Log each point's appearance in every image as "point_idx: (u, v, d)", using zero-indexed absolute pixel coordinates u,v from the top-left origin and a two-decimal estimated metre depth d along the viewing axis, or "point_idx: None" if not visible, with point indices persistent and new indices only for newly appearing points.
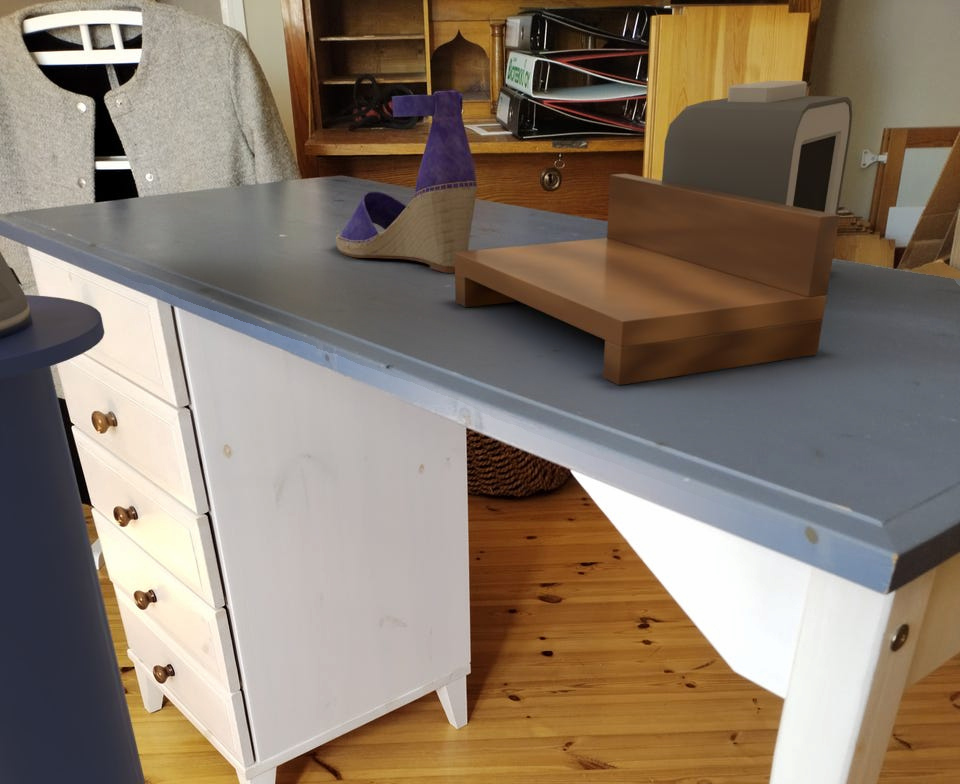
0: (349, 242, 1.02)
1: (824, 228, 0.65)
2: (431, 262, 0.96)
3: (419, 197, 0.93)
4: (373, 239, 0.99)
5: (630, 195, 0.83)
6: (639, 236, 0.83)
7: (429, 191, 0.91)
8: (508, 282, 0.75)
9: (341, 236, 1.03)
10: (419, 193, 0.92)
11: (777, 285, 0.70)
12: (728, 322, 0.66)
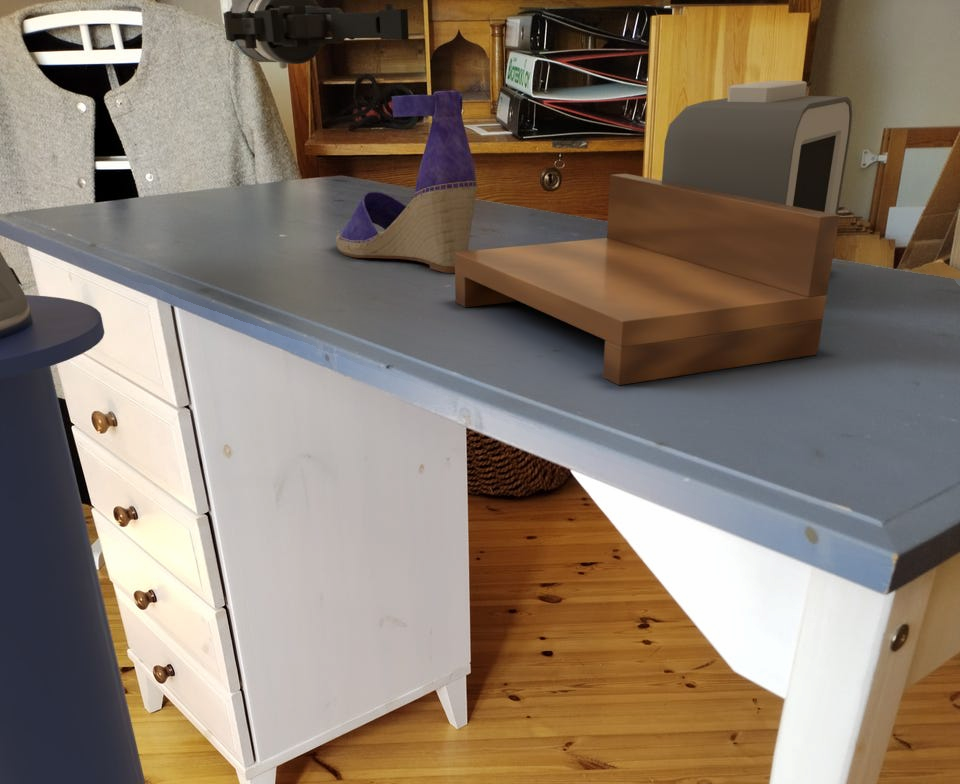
0: (349, 242, 1.02)
1: (824, 228, 0.65)
2: (431, 262, 0.96)
3: (419, 197, 0.93)
4: (373, 239, 0.99)
5: (630, 195, 0.83)
6: (639, 236, 0.83)
7: (429, 191, 0.91)
8: (508, 282, 0.75)
9: (341, 236, 1.03)
10: (419, 193, 0.92)
11: (777, 285, 0.70)
12: (728, 322, 0.66)
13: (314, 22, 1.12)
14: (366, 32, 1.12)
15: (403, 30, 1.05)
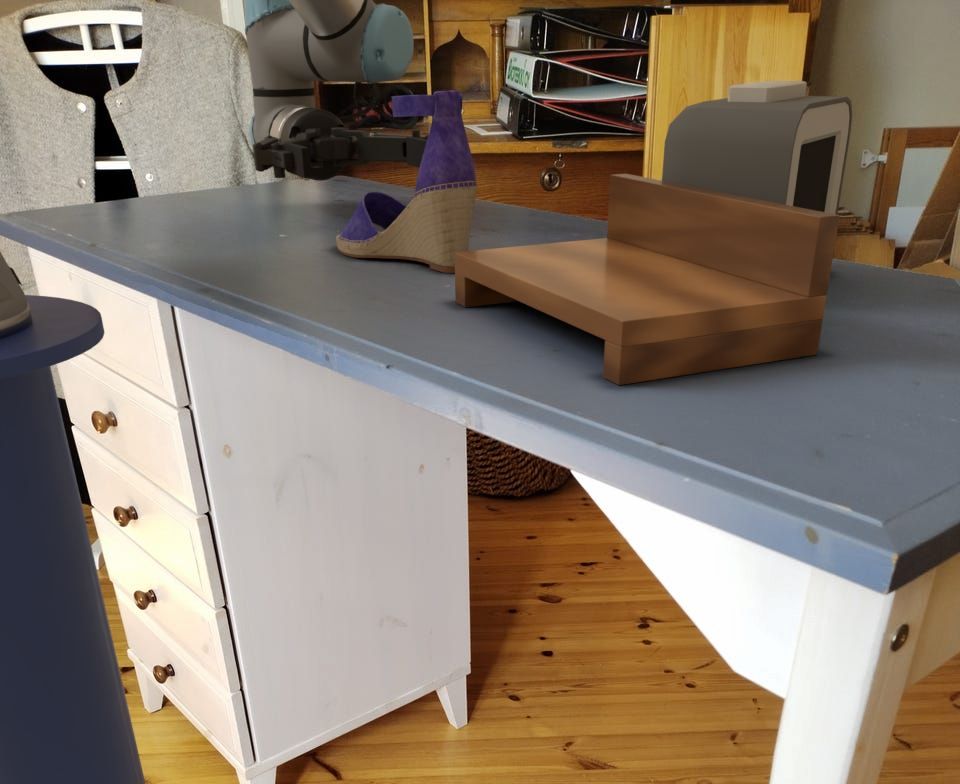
0: (349, 242, 1.02)
1: (824, 228, 0.65)
2: (431, 262, 0.96)
3: (419, 197, 0.93)
4: (373, 239, 0.99)
5: (630, 195, 0.83)
6: (639, 236, 0.83)
7: (429, 191, 0.91)
8: (508, 282, 0.75)
9: (341, 236, 1.03)
10: (419, 193, 0.92)
11: (777, 285, 0.70)
12: (728, 322, 0.66)
13: (340, 145, 1.13)
14: (392, 156, 1.12)
15: None
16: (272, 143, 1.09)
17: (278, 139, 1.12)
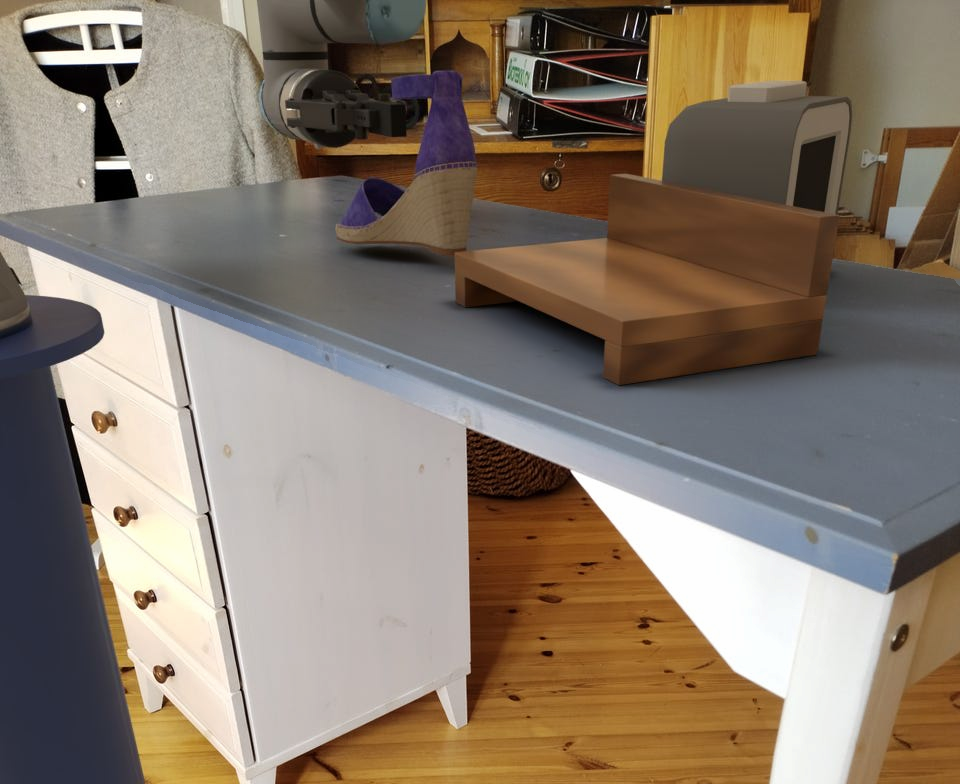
0: (349, 228, 1.01)
1: (824, 228, 0.65)
2: (431, 245, 0.95)
3: (419, 179, 0.92)
4: (372, 224, 0.98)
5: (630, 195, 0.83)
6: (639, 236, 0.83)
7: (429, 172, 0.90)
8: (508, 282, 0.75)
9: (340, 224, 1.03)
10: (418, 174, 0.91)
11: (777, 285, 0.70)
12: (728, 322, 0.66)
13: None
14: None
15: (400, 127, 0.95)
16: None
17: None
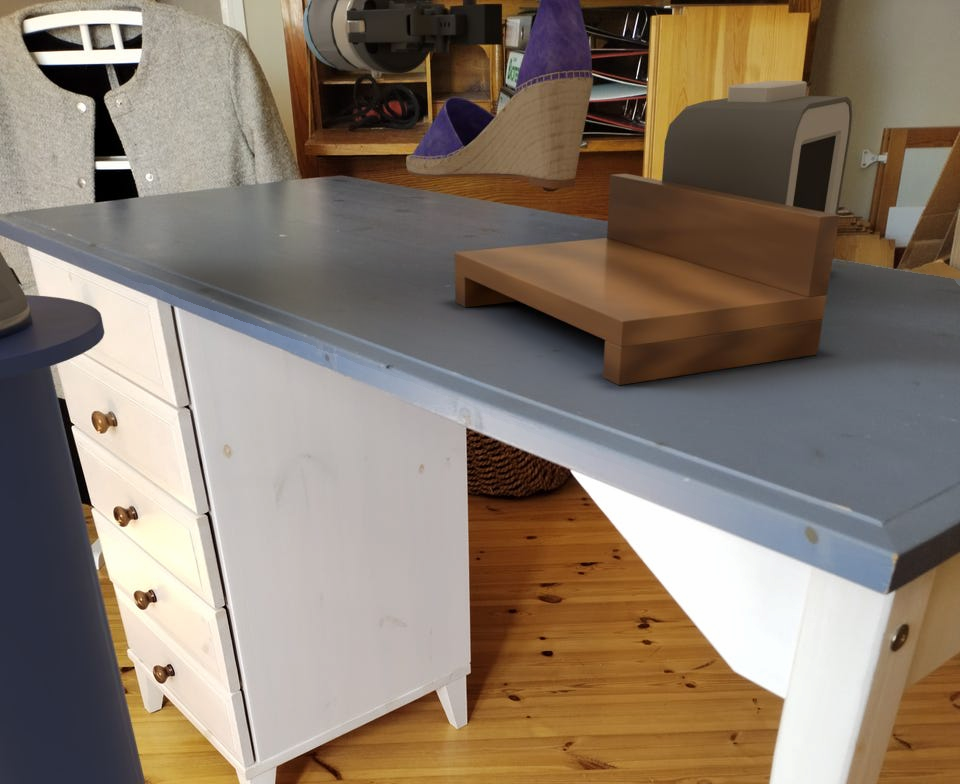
0: (426, 159, 0.84)
1: (824, 228, 0.65)
2: (531, 177, 0.79)
3: (522, 92, 0.75)
4: (457, 153, 0.82)
5: (630, 195, 0.83)
6: (639, 236, 0.83)
7: (536, 82, 0.74)
8: (508, 282, 0.75)
9: (414, 154, 0.86)
10: (522, 87, 0.75)
11: (777, 285, 0.70)
12: (728, 322, 0.66)
13: None
14: (450, 35, 0.86)
15: (495, 32, 0.79)
16: None
17: None
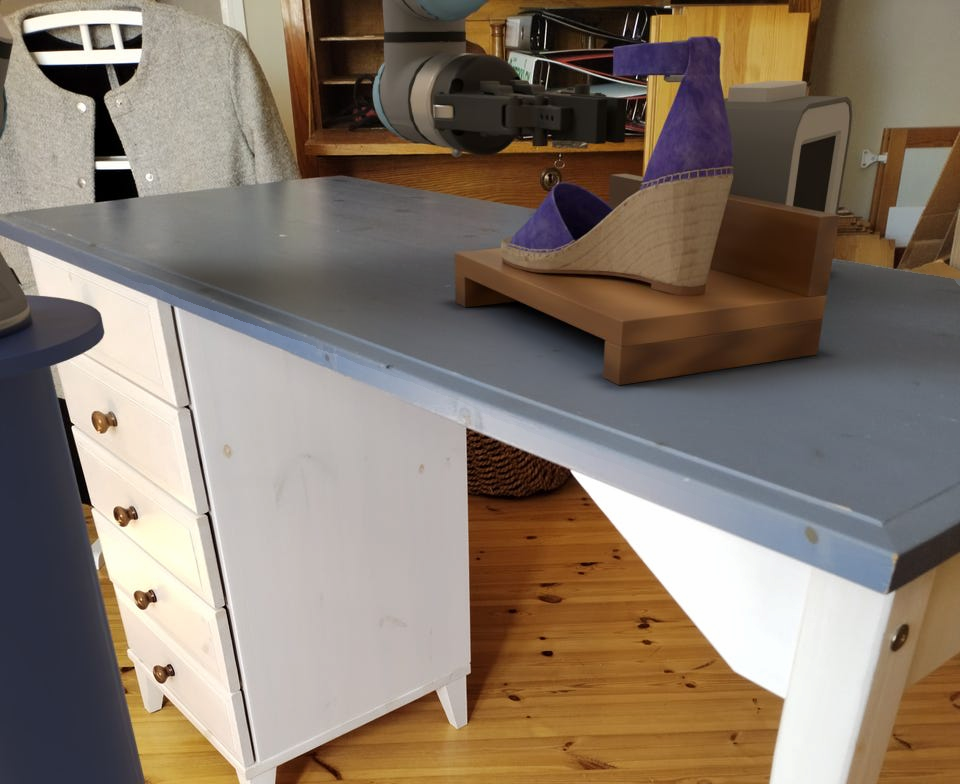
0: (528, 251, 0.75)
1: (824, 228, 0.65)
2: (655, 280, 0.69)
3: (651, 189, 0.66)
4: (566, 248, 0.72)
5: (630, 195, 0.83)
6: None
7: (671, 181, 0.64)
8: (508, 282, 0.75)
9: (512, 243, 0.76)
10: (651, 183, 0.65)
11: (777, 285, 0.70)
12: (728, 322, 0.66)
13: None
14: None
15: (618, 129, 0.69)
16: None
17: None
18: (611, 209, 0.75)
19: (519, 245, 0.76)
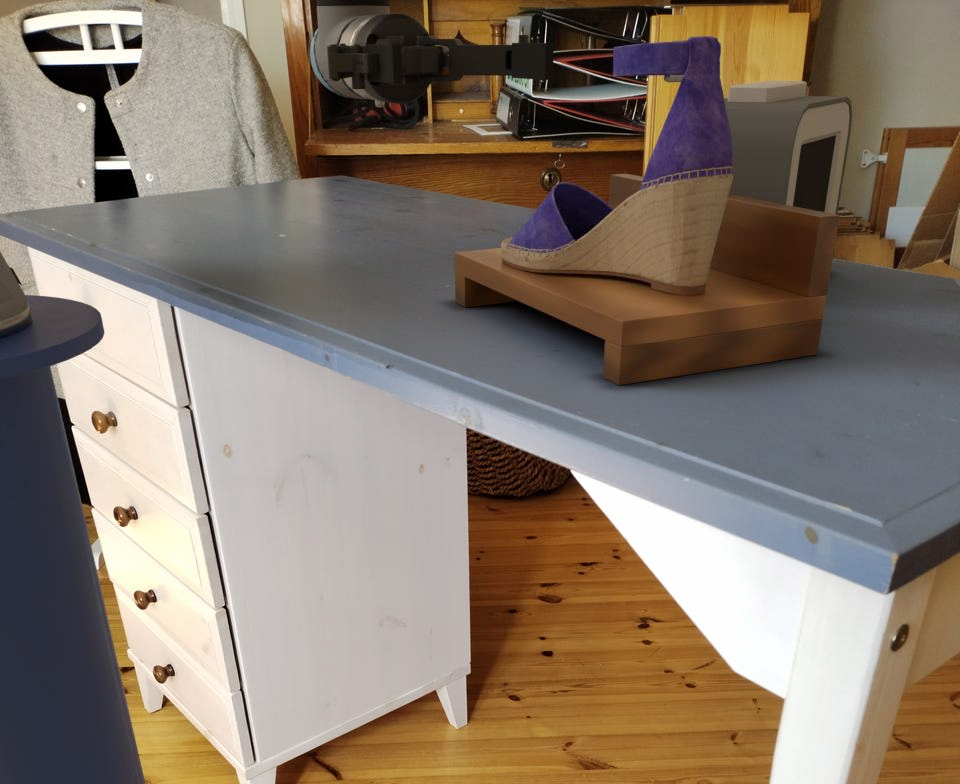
0: (528, 251, 0.75)
1: (824, 228, 0.65)
2: (655, 280, 0.69)
3: (651, 189, 0.66)
4: (566, 248, 0.72)
5: (630, 195, 0.83)
6: None
7: (671, 181, 0.64)
8: (508, 282, 0.75)
9: (512, 243, 0.76)
10: (652, 183, 0.65)
11: (777, 285, 0.70)
12: (728, 322, 0.66)
13: (429, 56, 0.92)
14: (492, 68, 0.92)
15: (547, 68, 0.85)
16: (348, 49, 0.89)
17: None
18: (611, 209, 0.75)
19: (519, 245, 0.76)
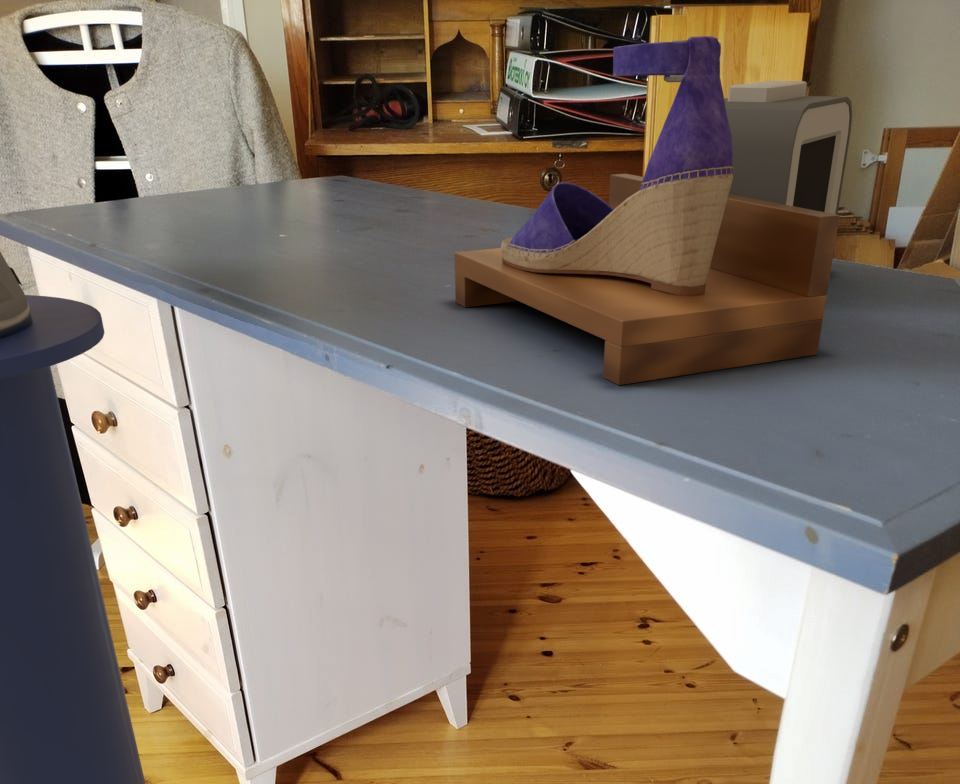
0: (528, 251, 0.75)
1: (824, 228, 0.65)
2: (655, 280, 0.69)
3: (651, 189, 0.66)
4: (566, 248, 0.72)
5: (630, 195, 0.83)
6: None
7: (671, 181, 0.64)
8: (508, 282, 0.75)
9: (512, 243, 0.76)
10: (652, 183, 0.65)
11: (777, 285, 0.70)
12: (728, 322, 0.66)
13: None
14: None
15: None
16: None
17: None
18: (611, 209, 0.75)
19: (519, 245, 0.76)
